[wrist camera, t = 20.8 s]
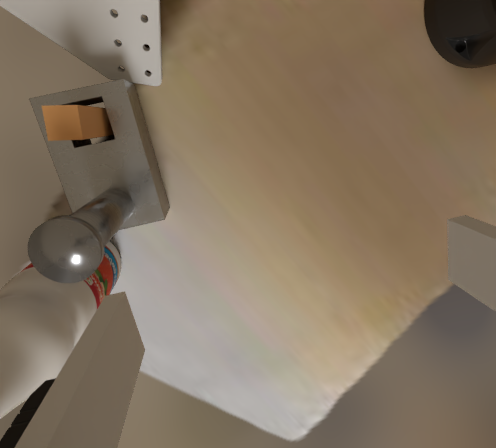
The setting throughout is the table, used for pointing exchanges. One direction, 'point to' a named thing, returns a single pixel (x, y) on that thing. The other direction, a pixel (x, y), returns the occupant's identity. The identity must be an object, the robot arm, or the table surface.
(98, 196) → the grey post stand
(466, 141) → the table surface
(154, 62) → the bracket
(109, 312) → the robot arm
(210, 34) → the table surface
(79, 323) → the fruit juice
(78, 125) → the tan wooden beam
